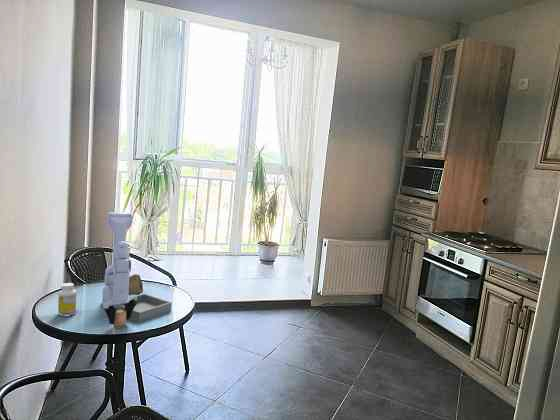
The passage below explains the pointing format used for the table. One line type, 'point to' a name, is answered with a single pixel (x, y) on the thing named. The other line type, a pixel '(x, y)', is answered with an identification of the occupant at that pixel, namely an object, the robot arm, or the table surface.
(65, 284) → the supplement bottle
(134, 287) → the rock
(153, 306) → the bin
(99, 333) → the table surface
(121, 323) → the orange-brown upright cylinder
